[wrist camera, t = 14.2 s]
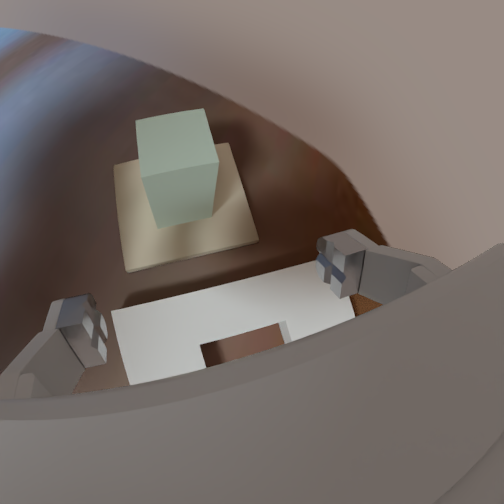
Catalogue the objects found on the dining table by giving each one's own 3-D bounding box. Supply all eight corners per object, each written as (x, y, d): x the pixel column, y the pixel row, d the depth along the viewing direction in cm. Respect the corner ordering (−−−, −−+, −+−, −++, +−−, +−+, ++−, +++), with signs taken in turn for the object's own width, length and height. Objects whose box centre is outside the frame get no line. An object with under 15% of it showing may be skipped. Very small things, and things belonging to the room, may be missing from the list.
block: (157, 229, 22) (141, 177, 15) (150, 182, 23) (135, 120, 16) (211, 217, 23) (219, 161, 16) (200, 171, 24) (203, 108, 17)
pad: (128, 273, 21) (125, 270, 21) (115, 170, 24) (113, 165, 23) (257, 242, 24) (259, 239, 23) (227, 147, 26) (228, 142, 26)
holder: (171, 472, 17) (169, 482, 15) (118, 313, 20) (111, 311, 19) (366, 404, 22) (378, 408, 20) (325, 261, 25) (335, 254, 23)
